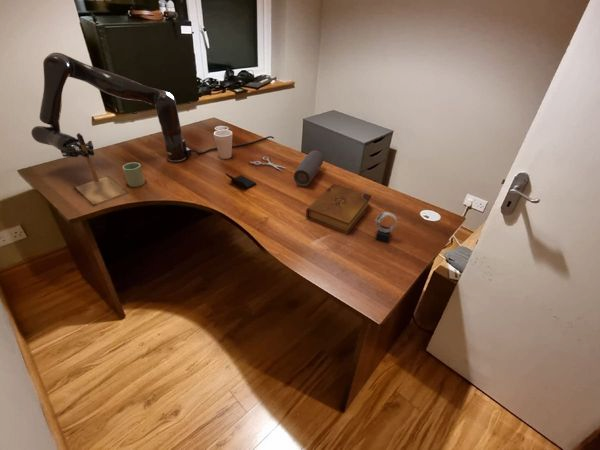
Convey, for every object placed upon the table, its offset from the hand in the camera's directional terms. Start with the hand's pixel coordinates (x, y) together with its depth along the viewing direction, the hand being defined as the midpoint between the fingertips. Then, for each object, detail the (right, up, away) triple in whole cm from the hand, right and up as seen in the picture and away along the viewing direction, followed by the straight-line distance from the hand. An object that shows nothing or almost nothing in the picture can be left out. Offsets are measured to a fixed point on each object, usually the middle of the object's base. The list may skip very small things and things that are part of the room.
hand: (90, 154), depth 135 cm
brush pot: (+10, -10, +18) cm, 23 cm away
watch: (+118, -34, -8) cm, 123 cm away
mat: (-3, -14, +12) cm, 19 cm away
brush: (-3, -10, +10) cm, 14 cm away
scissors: (+71, +2, +37) cm, 80 cm away
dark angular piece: (+58, -10, +21) cm, 62 cm away
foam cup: (+46, +8, +44) cm, 64 cm away
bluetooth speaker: (+90, -5, +28) cm, 95 cm away
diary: (+102, -24, +5) cm, 105 cm away
